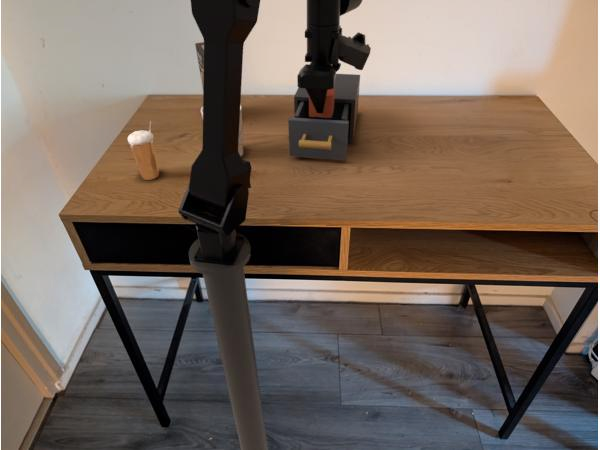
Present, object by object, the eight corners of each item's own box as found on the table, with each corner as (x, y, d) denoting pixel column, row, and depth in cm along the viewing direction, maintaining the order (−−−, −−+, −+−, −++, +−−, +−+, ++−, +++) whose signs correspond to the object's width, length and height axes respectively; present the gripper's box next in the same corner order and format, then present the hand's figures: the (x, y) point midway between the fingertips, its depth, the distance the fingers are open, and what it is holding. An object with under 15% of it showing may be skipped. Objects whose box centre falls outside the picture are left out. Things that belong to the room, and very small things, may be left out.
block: (331, 118, 83) (332, 96, 80) (309, 116, 84) (309, 94, 81) (334, 108, 87) (334, 87, 84) (312, 107, 87) (312, 86, 84)
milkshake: (170, 171, 85) (159, 124, 78) (150, 184, 81) (137, 136, 75) (154, 165, 86) (141, 118, 80) (133, 178, 83) (119, 130, 77)
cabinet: (352, 142, 93) (355, 99, 87) (295, 138, 95) (293, 96, 89) (357, 114, 104) (360, 74, 98) (305, 111, 106) (305, 72, 100)
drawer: (344, 171, 82) (346, 133, 77) (285, 166, 84) (283, 129, 79) (351, 129, 96) (353, 95, 91) (301, 126, 97) (300, 93, 92)
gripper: (367, 38, 67) (359, 131, 76) (372, 11, 81) (365, 92, 91) (296, 36, 68) (297, 127, 78) (313, 9, 83) (313, 89, 92)
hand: (321, 108), depth 85 cm, fingers closed on block, 4 cm apart
